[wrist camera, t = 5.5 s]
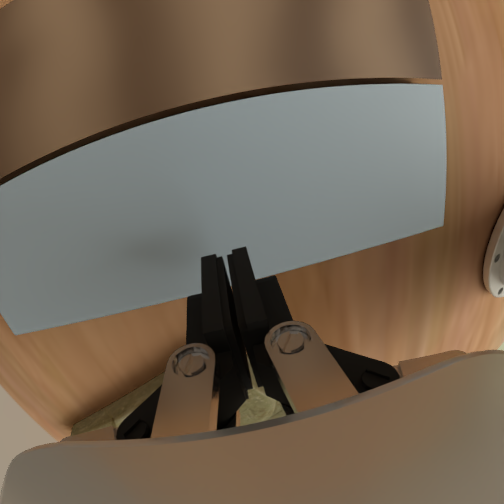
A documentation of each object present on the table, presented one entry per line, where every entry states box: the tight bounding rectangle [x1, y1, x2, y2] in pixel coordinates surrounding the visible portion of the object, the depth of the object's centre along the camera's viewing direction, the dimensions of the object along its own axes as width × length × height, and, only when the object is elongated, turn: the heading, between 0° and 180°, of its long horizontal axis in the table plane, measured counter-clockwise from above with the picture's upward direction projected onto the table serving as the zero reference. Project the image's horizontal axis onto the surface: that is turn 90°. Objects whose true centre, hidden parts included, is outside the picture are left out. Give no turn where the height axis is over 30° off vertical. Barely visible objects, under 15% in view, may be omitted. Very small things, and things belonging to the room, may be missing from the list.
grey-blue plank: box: [0, 83, 446, 335], centre depth 13 cm, size 26×8×2 cm, turn 101°
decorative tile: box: [71, 355, 285, 436], centre depth 24 cm, size 19×20×4 cm
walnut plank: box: [0, 0, 442, 179], centre depth 9 cm, size 26×8×2 cm, turn 101°
